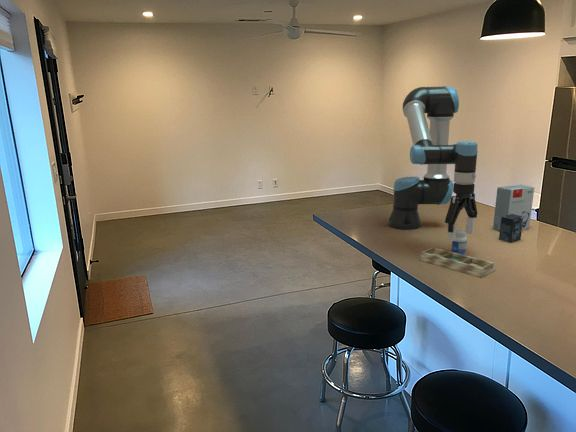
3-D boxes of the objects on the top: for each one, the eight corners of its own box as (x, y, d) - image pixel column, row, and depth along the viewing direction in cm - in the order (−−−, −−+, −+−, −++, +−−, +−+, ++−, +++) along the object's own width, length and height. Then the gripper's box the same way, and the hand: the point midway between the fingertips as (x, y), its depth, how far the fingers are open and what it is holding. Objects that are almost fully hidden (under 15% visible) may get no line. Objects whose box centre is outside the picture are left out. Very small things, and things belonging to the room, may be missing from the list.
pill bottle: (448, 253, 187) (450, 229, 185) (462, 252, 188) (463, 229, 185) (454, 257, 182) (456, 233, 180) (468, 257, 182) (470, 233, 180)
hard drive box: (505, 233, 212) (509, 189, 207) (492, 228, 219) (496, 187, 214) (530, 228, 218) (534, 186, 213) (516, 224, 225) (520, 184, 220)
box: (510, 243, 198) (513, 218, 196) (498, 239, 203) (500, 216, 200) (521, 239, 203) (523, 216, 200) (509, 236, 207) (511, 213, 205)
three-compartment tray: (418, 259, 180) (419, 252, 179) (433, 253, 186) (433, 246, 186) (481, 277, 162) (482, 269, 161) (495, 270, 168) (495, 262, 167)
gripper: (456, 188, 167) (452, 245, 172) (489, 180, 183) (484, 232, 188) (437, 185, 172) (434, 241, 177) (471, 178, 188) (467, 229, 193)
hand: (460, 236), depth 183 cm, fingers open, 13 cm apart
